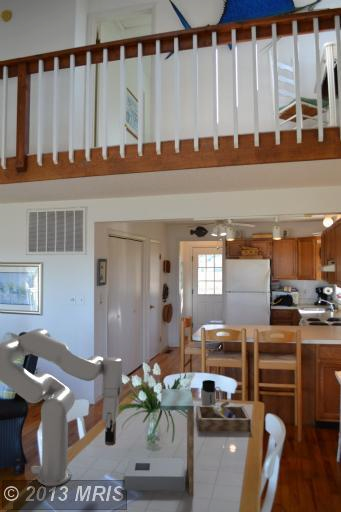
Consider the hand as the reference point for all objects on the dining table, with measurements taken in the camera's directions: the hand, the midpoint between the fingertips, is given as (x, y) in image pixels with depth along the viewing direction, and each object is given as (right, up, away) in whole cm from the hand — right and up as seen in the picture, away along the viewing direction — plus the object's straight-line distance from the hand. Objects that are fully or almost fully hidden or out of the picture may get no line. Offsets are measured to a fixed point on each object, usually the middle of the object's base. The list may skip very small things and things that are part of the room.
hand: (110, 438), depth 150 cm
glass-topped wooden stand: (+25, -16, -1) cm, 30 cm away
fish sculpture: (+53, -19, +54) cm, 78 cm away
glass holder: (+47, -19, +78) cm, 94 cm away
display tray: (+50, -18, +55) cm, 77 cm away
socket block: (+17, -16, -1) cm, 23 cm away
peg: (0, -2, 0) cm, 2 cm away
